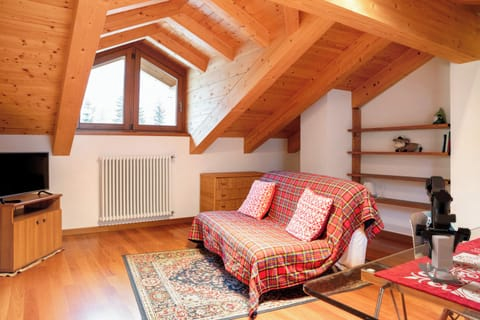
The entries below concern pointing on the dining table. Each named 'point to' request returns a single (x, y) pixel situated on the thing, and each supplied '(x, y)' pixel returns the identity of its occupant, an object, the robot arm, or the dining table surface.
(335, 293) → the dining table surface
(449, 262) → the skincare box
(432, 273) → the tray
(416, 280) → the dining table surface
